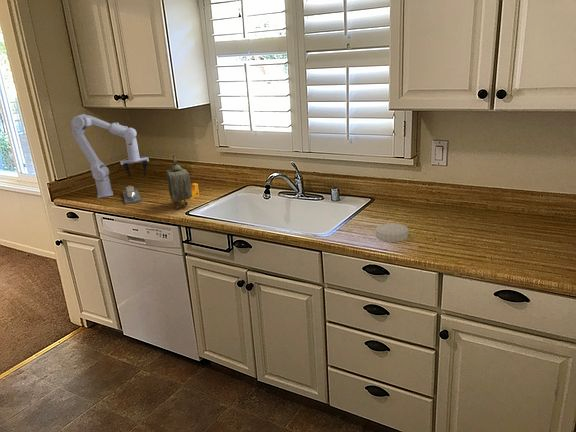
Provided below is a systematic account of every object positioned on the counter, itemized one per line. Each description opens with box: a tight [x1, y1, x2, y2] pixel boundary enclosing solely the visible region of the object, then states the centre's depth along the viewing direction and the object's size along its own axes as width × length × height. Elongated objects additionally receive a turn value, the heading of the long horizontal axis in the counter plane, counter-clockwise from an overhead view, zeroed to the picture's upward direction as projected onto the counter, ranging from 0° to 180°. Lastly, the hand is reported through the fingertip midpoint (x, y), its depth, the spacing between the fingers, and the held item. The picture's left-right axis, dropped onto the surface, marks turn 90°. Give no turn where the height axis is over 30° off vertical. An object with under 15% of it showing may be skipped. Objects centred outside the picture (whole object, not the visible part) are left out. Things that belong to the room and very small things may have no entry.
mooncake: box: [375, 222, 409, 243], centre depth 177 cm, size 12×12×4 cm
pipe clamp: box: [180, 182, 200, 203], centre depth 241 cm, size 12×4×6 cm, turn 143°
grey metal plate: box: [122, 185, 142, 205], centre depth 250 cm, size 23×8×4 cm, turn 21°
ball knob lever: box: [125, 185, 136, 199], centre depth 250 cm, size 15×4×3 cm, turn 21°
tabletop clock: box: [165, 154, 192, 210], centre depth 227 cm, size 14×9×25 cm, turn 22°
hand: (137, 176), depth 255 cm, fingers open, 7 cm apart
